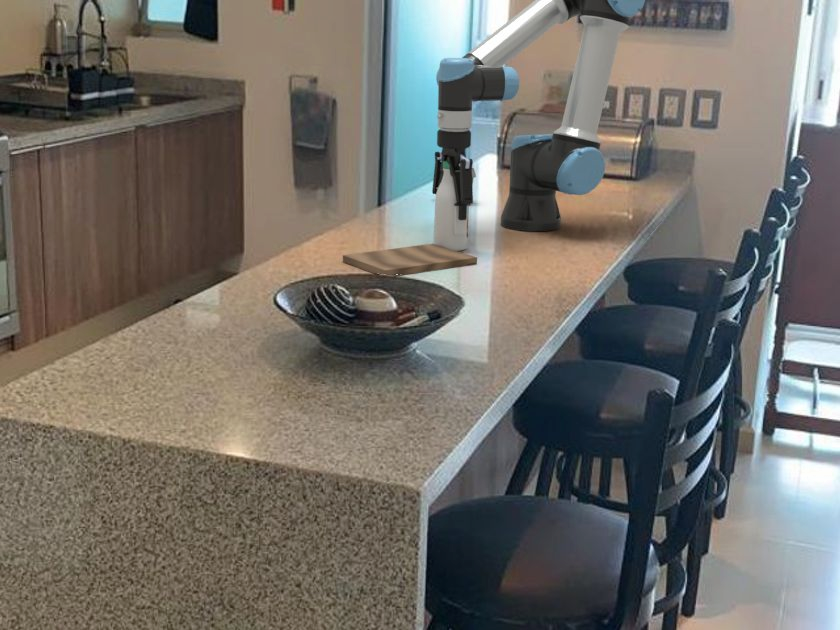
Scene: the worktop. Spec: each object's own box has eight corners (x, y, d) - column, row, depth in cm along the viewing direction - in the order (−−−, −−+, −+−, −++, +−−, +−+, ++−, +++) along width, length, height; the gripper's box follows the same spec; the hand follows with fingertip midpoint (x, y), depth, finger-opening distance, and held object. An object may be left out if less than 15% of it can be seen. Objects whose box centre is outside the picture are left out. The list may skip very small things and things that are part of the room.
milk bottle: (464, 252, 261) (467, 164, 255) (430, 250, 262) (433, 162, 257) (469, 245, 268) (473, 159, 262) (437, 243, 269) (439, 157, 264)
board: (432, 250, 263) (432, 243, 263) (476, 264, 251) (477, 257, 250) (342, 262, 249) (342, 255, 249) (385, 277, 237) (385, 270, 236)
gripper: (418, 124, 265) (416, 222, 271) (461, 135, 247) (457, 240, 253) (447, 123, 268) (444, 220, 274) (491, 134, 250) (487, 237, 257)
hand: (451, 230), depth 264 cm, fingers closed on milk bottle, 8 cm apart
